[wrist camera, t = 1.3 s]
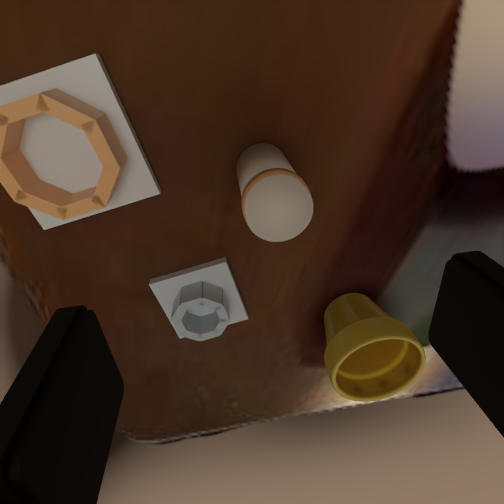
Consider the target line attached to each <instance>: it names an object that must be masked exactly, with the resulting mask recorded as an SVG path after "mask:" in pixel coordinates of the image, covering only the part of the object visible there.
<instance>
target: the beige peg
mask: <svg viewBox="0 0 504 504" xmlns="http://www.w3.org/2000/svg"><path fill="white" fill-rule="evenodd" d="M236 172H237V178H238V182H239V187H240V192H241V197H242V198H241V205H242V211H243V216H244V219H245V221H246V223H247V224H248V226H249V228H250V229H251V230H252V232H253V233H254V234H255V235H257V236H258V237H260V238H262V239H264V240H267V241H271V242H281V241H286V240H289V239H292V238H294V237H296V236H297V235H299V234H300V233H301V232H302V231H303V230H304V229H305V228H306V227H307V226H308V224H309V222H310V220H311V218H312V215H313V201H312V198H311V193H310V191H309V188H308V187H307V185H306V184H305V182H304V181H303V179H302V178H301V177H300V176H299V175H298V174H296V172H295V171H294V169H293V168H292V166H291V165H290V163H289V162H288V160H287V159H286V157H285V156H284V154H283V153H282V152H281V151H280V150H279V149H278V148H277V147H276V146H274V145H271V144H268V143H258V144H254V145H252V146H250V147H248V148H247V149H246V150H244V151H243V153H242V154H241V155H240V157H239V159H238V162H237V166H236Z"/></svg>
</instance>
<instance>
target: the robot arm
mask: <svg viewBox="0 0 504 504" xmlns="http://www.w3.org/2000/svg"><path fill="white" fill-rule="evenodd" d="M428 335H429V341H430V343H431V345H432V347H433V348H434V349H435V351H436V352H437V353H438V354H439V356H440V357H441V358H442V360H443V361H444V362H445V363H446V365H447V366H448V367H449V368H450V370H451V371H452V372H453V374H454V375H455V376H456V377H457V379H458V380H459V381H460V382H461V384H462V385H463V386H464V388H465V389H466V390H467V391H468V393H469V394H470V395H471V396H472V398H473V399H474V400H475V401H476V403H477V404H478V405H479V407H480V408H481V409H482V410H483V412H484V413H485V414H486V415H487V417H488V418H489V419H490V421H491V422H492V423H493V424H494V426H495V427H496V428H497V430H498V431H499V432H500V433H501V435H502V436H503V437H504V267H502V266H501V265H499V264H498V263H497V262H495V261H494V260H492V259H491V258H489V257H488V256H487V255H485V254H484V253H482V252H480V251H471V252H464V253H457V254H454V255H453V256H452V257H451V260H449V261H447V263H446V265H445V269H444V273H443V277H442V281H441V285H440V289H439V293H438V297H437V301H436V305H435V309H434V313H433V317H432V321H431V325H430V329H429V334H428ZM123 392H124V384H123V380H122V377H121V375H120V372H119V370H118V368H117V365H116V363H115V360H114V358H113V355H112V353H111V351H110V348H109V346H108V343H107V341H106V339H105V336H104V334H103V331H102V329H101V327H100V324H99V322H98V319H97V317H96V315H95V313H94V311H93V310H87V308H86V307H85V306H82V305H80V306H73V307H66V308H59V309H57V310H56V311H55V313H54V314H53V316H52V318H51V319H50V321H49V323H48V325H47V326H46V328H45V330H44V331H43V333H42V335H41V336H40V338H39V340H38V341H37V343H36V345H35V347H34V348H33V350H32V352H31V353H30V355H29V357H28V358H27V360H26V362H25V363H24V365H23V367H22V368H21V370H20V372H19V373H18V375H17V377H16V379H15V380H14V382H13V384H12V385H11V387H10V389H9V391H8V392H7V394H6V395H5V397H4V399H3V401H2V402H1V404H0V504H97V499H98V495H99V491H100V487H101V483H102V479H103V475H104V471H105V467H106V463H107V458H108V454H109V450H110V446H111V442H112V438H113V434H114V430H115V426H116V422H117V418H118V414H119V409H120V405H121V401H122V397H123Z"/></svg>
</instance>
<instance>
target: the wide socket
mask: <svg viewBox="0 0 504 504" xmlns="http://www.w3.org/2000/svg"><path fill="white" fill-rule="evenodd" d="M0 182H1V184H2V185H3V186H4V188H5V189H6V191H7V192H8V193H9V195H10V196H11V197H12V199H13V200H14V202H17V203H19V204H22V205H25V206H27V207H28V208H29V209H30V211H31V212H32V214H33V215H34V216H35V218H36V219H37V221H38V222H39V223H40V225H41V226H42V228H43V229H44V230H46V229H49V228H52V227H56V226H59V225H62V224H65V223H68V222H72V221H75V220H78V219H81V218H84V217H88V216H91V215H94V214H97V213H100V212H104V211H107V210H110V209H113V208H116V207H120V206H123V205H126V204H129V203H132V202H136V201H139V200H142V199H145V198H148V197H152V196H155V195H158V194H160V193H161V188H160V186H159V184H158V181H157V179H156V177H155V175H154V173H153V171H152V168H151V166H150V164H149V162H148V160H147V157H146V155H145V153H144V151H143V149H142V147H141V144H140V142H139V140H138V138H137V136H136V133H135V131H134V129H133V127H132V125H131V123H130V120H129V118H128V116H127V114H126V112H125V109H124V107H123V105H122V103H121V101H120V98H119V96H118V94H117V92H116V90H115V88H114V85H113V83H112V81H111V79H110V77H109V74H108V72H107V70H106V68H105V66H104V64H103V61H102V59H101V57H100V55H99V53H96V54H93V55H90V56H87V57H84V58H81V59H78V60H75V61H72V62H69V63H66V64H63V65H60V66H57V67H54V68H51V69H49V70H46V71H43V72H40V73H37V74H34V75H31V76H28V77H25V78H22V79H19V80H16V81H13V82H10V83H7V84H4V85H2V86H0Z"/></svg>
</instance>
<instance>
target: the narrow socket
mask: <svg viewBox="0 0 504 504" xmlns="http://www.w3.org/2000/svg"><path fill="white" fill-rule="evenodd" d="M149 286H150V287H151V289H152V291H153V292H154V294H155V296H156V298H157V299H158V301H159V303H160V305H161V306H162V308H163V310H164V312H165V313H166V315H167V317H168V319H169V320H170V322H171V324H172V326H173V327H174V329H175V331H176V332H177V334H178V336H179V338H184V337H187V338H190V339H193V340H197V341H203V340H207V339H210V338H214V337H217V336H220V335H221V334H222V332H223V331H224V329H225V328H226V326H227V325H229V324H232V323H236V322H239V321H243V320H246V319H248V313H247V310H246V308H245V305H244V303H243V300H242V298H241V295H240V292H239V290H238V287H237V285H236V282H235V280H234V277H233V275H232V272H231V269H230V267H229V264H228V262H227V259H226V257H224V258H220V259H217V260H214V261H210V262H207V263H204V264H200V265H197V266H193V267H190V268H187V269H183V270H180V271H177V272H173V273H170V274H167V275H163V276H160V277H157V278H153V279H150V283H149Z"/></svg>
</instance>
